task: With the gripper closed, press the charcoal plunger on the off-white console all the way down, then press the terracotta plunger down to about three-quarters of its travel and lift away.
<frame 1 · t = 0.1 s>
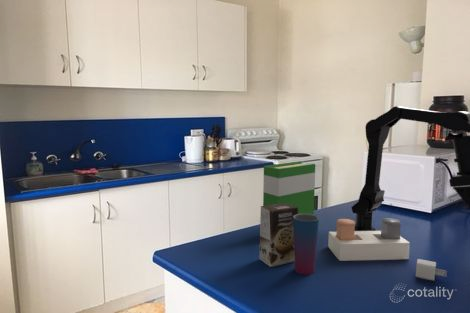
hardback book: (288, 232, 132), on the counter
console: (366, 252, 113), on the counter
charcoal plunger: (390, 229, 113), point 7 cm above the counter, slide at 0.0 cm
usb wall charger: (430, 278, 97), on the counter
terracotta plunger: (345, 230, 112), point 7 cm above the counter, slide at 0.0 cm
cup: (304, 271, 101), on the counter
brown cookie box: (278, 261, 108), on the counter
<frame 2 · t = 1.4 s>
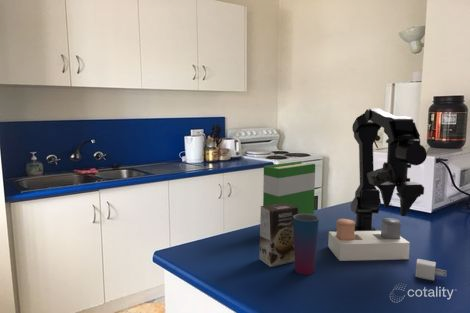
hand: (394, 211, 112), 13 cm above the counter, tool pointing down, fingers open, 9 cm apart
nothing on the counter moved.
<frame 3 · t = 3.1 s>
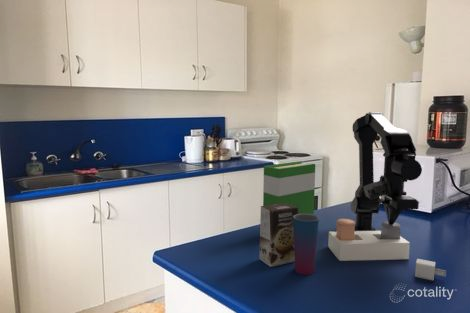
hand: (390, 224, 112), 9 cm above the counter, tool pointing down, fingers closed, pressing on charcoal plunger
charcoal plunger: (390, 233, 113), point 6 cm above the counter, slide at 1.2 cm, touching gripper
everything else where it was.
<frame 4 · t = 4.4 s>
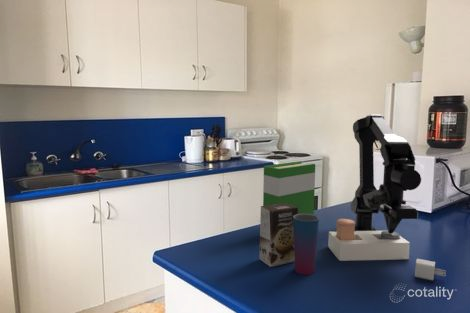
hand: (390, 232, 113), 6 cm above the counter, tool pointing down, fingers closed
charcoal plunger: (389, 242, 113), point 3 cm above the counter, slide at 4.1 cm
everything else where it was.
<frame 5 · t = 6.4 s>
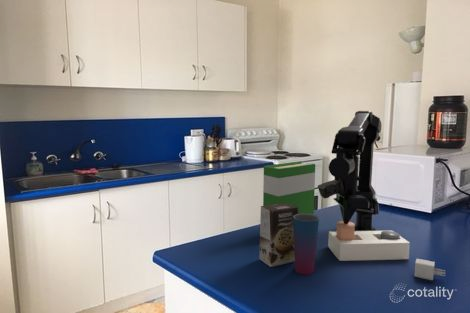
hand: (345, 223, 112), 9 cm above the counter, tool pointing down, fingers closed, pressing on terracotta plunger
terracotta plunger: (345, 232, 112), point 7 cm above the counter, slide at 0.7 cm, touching gripper
everything else where it was.
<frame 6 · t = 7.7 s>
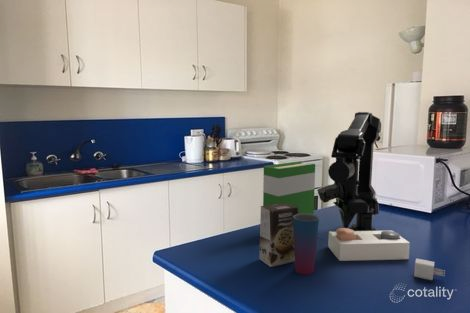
hand: (345, 227, 112), 8 cm above the counter, tool pointing down, fingers closed
terracotta plunger: (344, 239, 112), point 4 cm above the counter, slide at 2.9 cm
everything else where it was.
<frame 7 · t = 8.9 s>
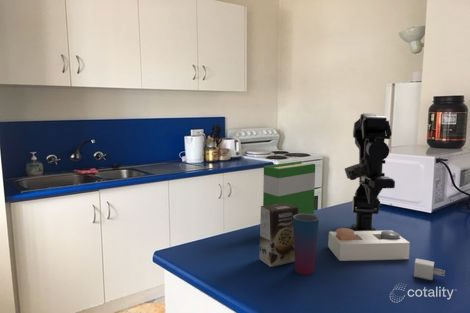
hand: (370, 204, 120), 13 cm above the counter, tool pointing down, fingers closed
nothing on the counter moved.
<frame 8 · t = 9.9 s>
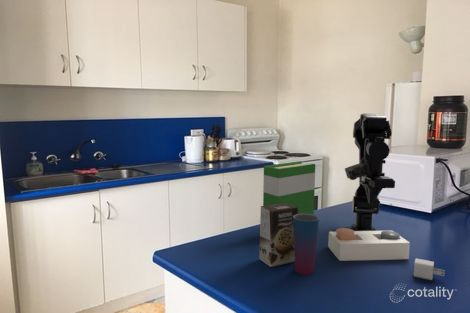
hand: (370, 204, 120), 13 cm above the counter, tool pointing down, fingers closed
nothing on the counter moved.
at the end: charcoal plunger slide at 4.1 cm; terracotta plunger slide at 2.9 cm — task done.
